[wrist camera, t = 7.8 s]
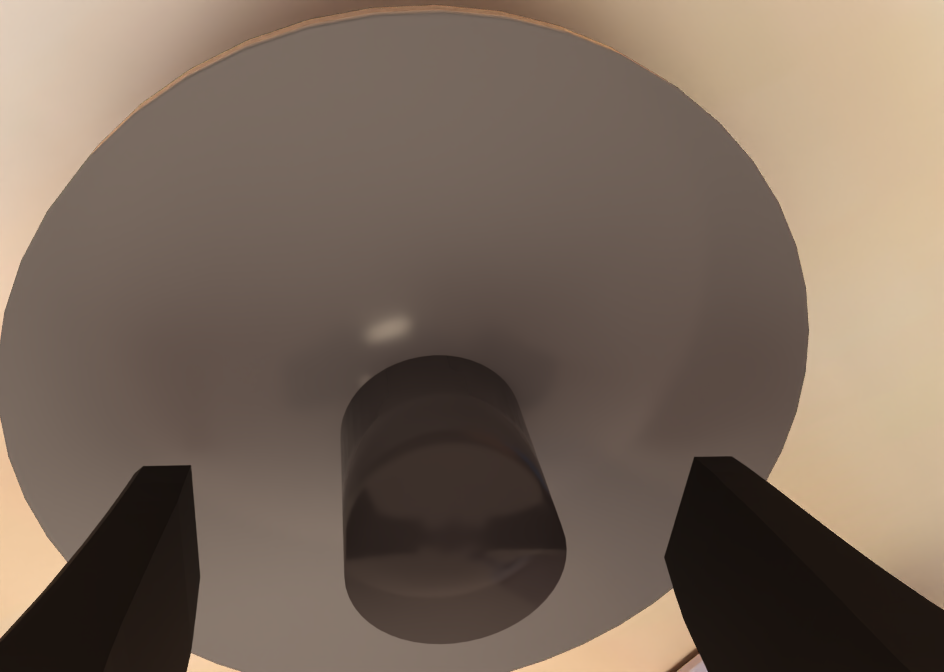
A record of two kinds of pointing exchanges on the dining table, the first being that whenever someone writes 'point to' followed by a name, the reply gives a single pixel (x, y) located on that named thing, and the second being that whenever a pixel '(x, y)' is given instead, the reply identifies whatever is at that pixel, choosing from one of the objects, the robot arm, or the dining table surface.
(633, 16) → the dining table surface
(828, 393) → the dining table surface
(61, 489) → the lid
